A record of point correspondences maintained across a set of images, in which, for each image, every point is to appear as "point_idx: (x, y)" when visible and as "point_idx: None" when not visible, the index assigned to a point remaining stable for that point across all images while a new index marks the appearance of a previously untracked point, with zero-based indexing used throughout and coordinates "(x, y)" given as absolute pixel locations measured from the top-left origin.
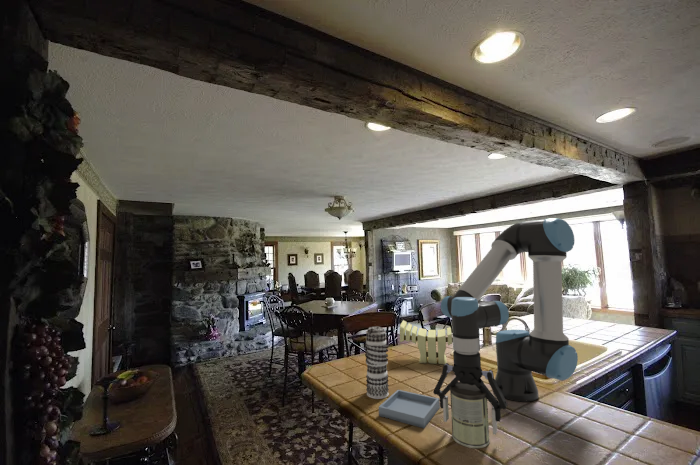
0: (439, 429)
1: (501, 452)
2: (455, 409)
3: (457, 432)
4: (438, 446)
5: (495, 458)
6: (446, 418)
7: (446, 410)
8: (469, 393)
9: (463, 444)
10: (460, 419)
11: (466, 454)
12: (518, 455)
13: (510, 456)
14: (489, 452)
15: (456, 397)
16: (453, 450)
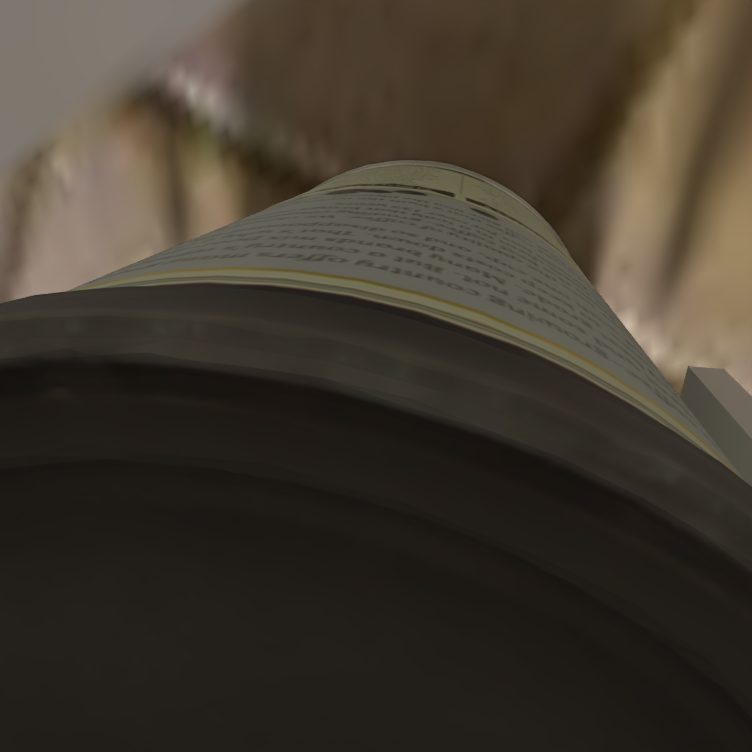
0: (732, 373)
1: (123, 226)
2: (583, 292)
3: (520, 209)
4: (727, 8)
5: (139, 95)
6: (698, 395)
7: (735, 466)
8: (68, 616)
9: (448, 166)
10: (469, 205)
11: (395, 11)
12: (6, 245)
13: (48, 198)
14: (208, 174)
15: (605, 382)
16: (541, 16)
